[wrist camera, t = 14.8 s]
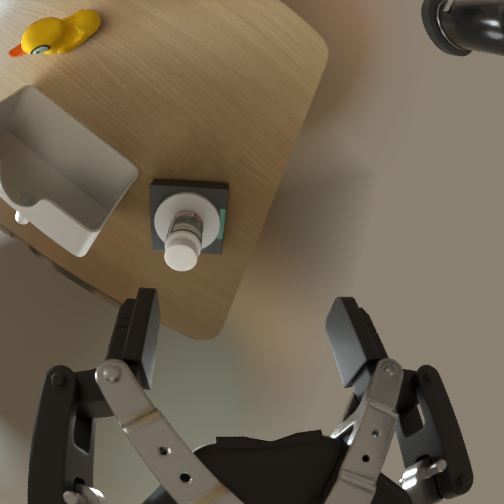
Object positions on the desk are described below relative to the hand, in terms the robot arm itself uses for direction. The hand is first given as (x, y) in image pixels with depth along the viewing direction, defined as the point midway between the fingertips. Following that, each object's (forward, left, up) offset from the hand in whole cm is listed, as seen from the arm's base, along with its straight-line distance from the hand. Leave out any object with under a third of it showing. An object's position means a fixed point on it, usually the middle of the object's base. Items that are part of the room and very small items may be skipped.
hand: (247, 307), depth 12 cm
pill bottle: (+5, +12, -27) cm, 30 cm away
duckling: (+24, -16, -30) cm, 42 cm away
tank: (+27, +4, -30) cm, 41 cm away
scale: (+5, +12, -30) cm, 33 cm away
